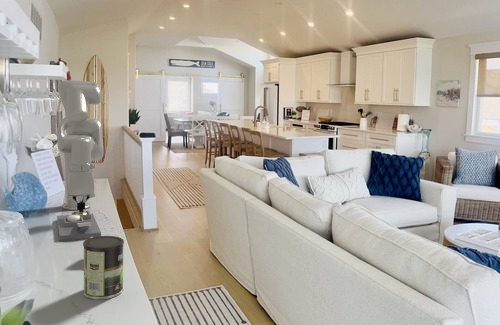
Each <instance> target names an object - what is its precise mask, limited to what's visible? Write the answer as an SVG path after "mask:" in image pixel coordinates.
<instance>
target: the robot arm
mask: <svg viewBox="0 0 500 325" xmlns="http://www.w3.org/2000/svg"><path fill="white" fill-rule="evenodd" d="M58 94H59V98H60V101H61V104H62V106H63V108H64V109H63V110H64V114H65V116H64V117H63V118H62V120H60V123H59V124H58V126H57V130H56V142H57V143H56V144H57V148H58V149H57V150H58V152H60V153H63V158H64V168H65V170H64V171H65V173H64V177H65V179H64V182H65V183H64V184H65V187H64V189H65V191H64V192H65V196H64V197H65V198H64V199H65V202H64V203H62V204H61V208H62V209H63V210H68V211H70V210H71V211H79V212H81V211H82V212H84V211H85V210H86V209H89V208H91V206H92V204H91V202H88V200H89V199H92V198H95V197H96V195H95V177H94V171H93V169H95V168H96V166H95V164H92V161H100V160H102V159H103V158H104V151H105V150H104V139H103V138H104V136H103V126H102V123H101V121H100V120H98V119H95V118H89V105H99V104H101V101H102V91H101V88H100V86H99V83H97V82H95V81H88V80H87V81H85V80H74V79H70V80H68V79H67V80H62V81H60V82H59V84H58ZM65 132H66V134H65Z"/></svg>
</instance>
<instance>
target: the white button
mask: <svg viewBox="0 0 500 325" xmlns="http://www.w3.org/2000/svg"><path fill="white" fill-rule="evenodd" d="M68 215H69V216H67V221H69V222H74V221H80V215H72V214H68Z"/></svg>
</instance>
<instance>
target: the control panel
mask: <svg viewBox="0 0 500 325" xmlns="http://www.w3.org/2000/svg"><path fill="white" fill-rule="evenodd" d="M76 212H79V210H73V211H71V215H75V213H76ZM84 212H87V215H80V221H74V222H69V221H67V216H69V215H70V214H65V215H63V214H62V215H56V221H57V222H56V223H57V228H58V235H59V236H58V237H59V242H66V241H67V242H68V241H77V240H78V241H79V240H80V239H81V240H87V239H89V238H90V237H98V236H102V232H101V229H100V227H99V225H98V222H97V221H96V220H97V219H96V217H95V214H93V213H91V212H90V210H84ZM87 222H89V223H91V226H83V227H78V226H77V223H87Z"/></svg>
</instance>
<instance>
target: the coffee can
mask: <svg viewBox="0 0 500 325" xmlns="http://www.w3.org/2000/svg"><path fill="white" fill-rule="evenodd" d="M124 244H125V240H124V239H123V238H121V237H119V236H114V235H101V236H98V237H93V238H89V239H84V241H83V243H82V246H83V292H82V293H83V296H85V297H86V298H87V299H91V300H98V301H99V300H108V299H111V298H112V299H113V298H116V297H118V296H119V295H121V294H122V292H123V291H124V285H123V284H124Z"/></svg>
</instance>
